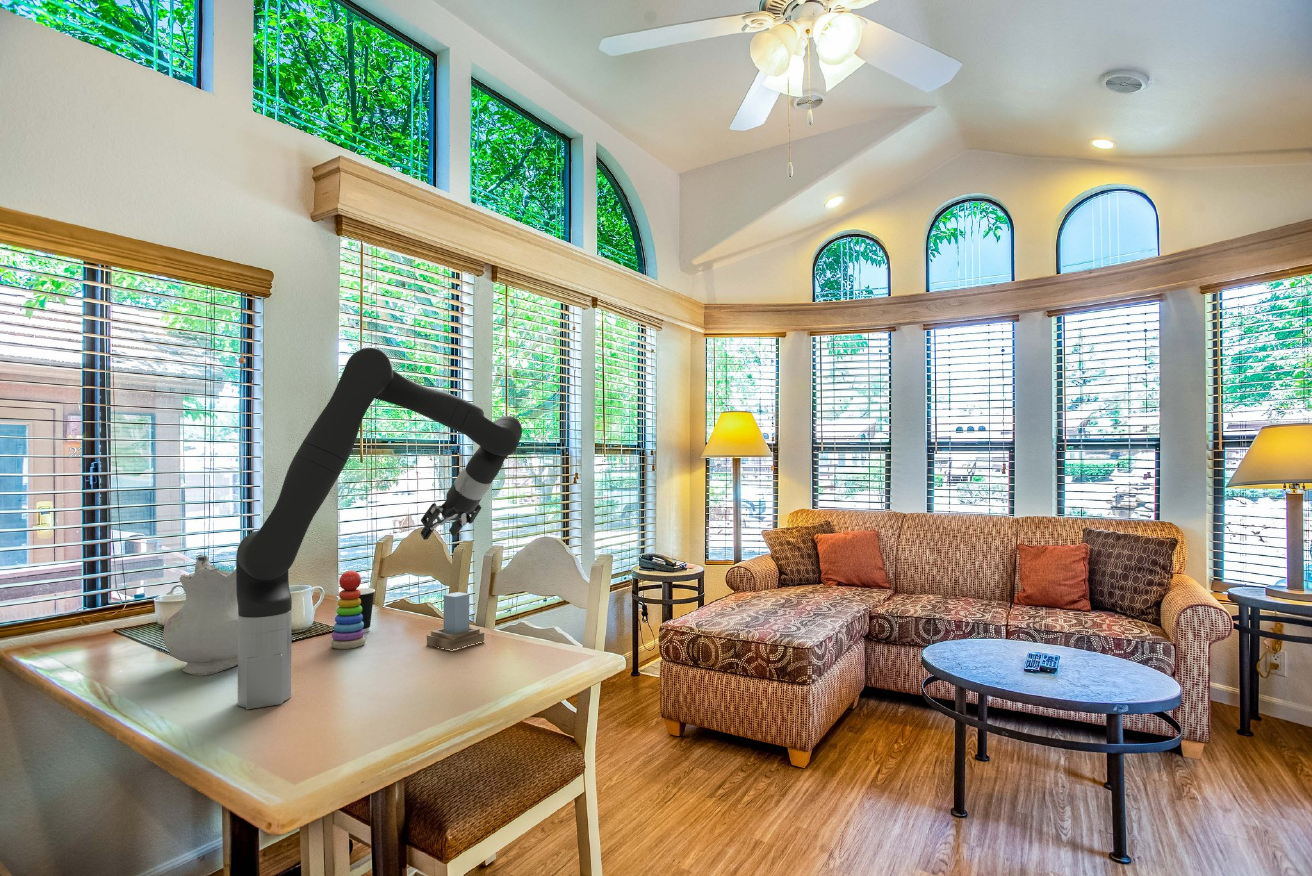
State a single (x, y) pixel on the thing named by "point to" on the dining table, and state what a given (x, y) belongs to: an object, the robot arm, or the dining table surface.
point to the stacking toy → (348, 614)
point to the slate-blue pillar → (456, 613)
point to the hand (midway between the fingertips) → (438, 535)
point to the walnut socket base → (454, 638)
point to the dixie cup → (366, 606)
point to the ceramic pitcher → (205, 621)
